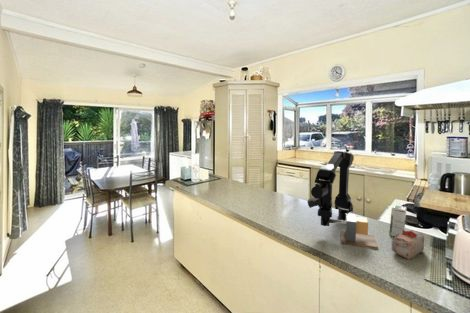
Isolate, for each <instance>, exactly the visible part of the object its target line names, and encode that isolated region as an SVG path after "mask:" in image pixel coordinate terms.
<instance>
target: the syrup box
mask: <svg viewBox="0 0 470 313" xmlns="http://www.w3.org/2000/svg"><path fill="white" fill-rule="evenodd" d="M407 209H408V208H407V207H406V206H402V205H398V204H397V205H396V204H395V205H393V204H392V207H391V211H390V212H391V213H390V222H389V224H390V225H389V234H388V236H392V237H395V236H396V235H398V234H399V235H401V234H402V232H403V231H402V230H404V231H405V229H406V226H405V225H406V220H407V219H406V218H407Z"/></svg>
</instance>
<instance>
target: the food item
mask: <svg viewBox="0 0 470 313" xmlns="http://www.w3.org/2000/svg"><path fill="white" fill-rule="evenodd" d="M402 231H403V232H402V234H401V235H399V234H398V235H396V236H394V237H393V239H391V250H392V252H394V254H396V255H399V256H400V257H402V258H404V259H406V260H410V259H412V258H414V257H415V256H417V255H419V254H420V253H422V252H423V251H424V249H425V248H424V247H425V236H424V235H423V234H422V233H421V232H418V231H415V230H413V229H412V230H410V229H409V230H407V231H406V230H405V229H404V230H402Z"/></svg>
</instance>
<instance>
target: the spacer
mask: <svg viewBox="0 0 470 313" xmlns="http://www.w3.org/2000/svg"><path fill="white" fill-rule="evenodd" d="M355 218H356V233H357V234H364V235H369V234H368V233H369V221H368V218H367V217H362V216H355Z"/></svg>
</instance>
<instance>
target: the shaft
mask: <svg viewBox="0 0 470 313" xmlns="http://www.w3.org/2000/svg"><path fill="white" fill-rule="evenodd" d="M331 224H334V225H335V224H336V225H343V226H345V225H346V221H343V220H338V219H334V218H333V219H332V218H330V219H329V221H328V223H327V225H326V226H324V225H323V221H322V217H321V216H320V226H323V227H330V225H331Z"/></svg>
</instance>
